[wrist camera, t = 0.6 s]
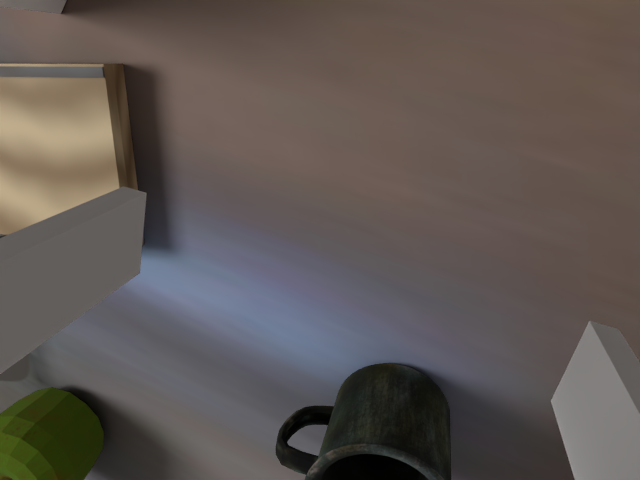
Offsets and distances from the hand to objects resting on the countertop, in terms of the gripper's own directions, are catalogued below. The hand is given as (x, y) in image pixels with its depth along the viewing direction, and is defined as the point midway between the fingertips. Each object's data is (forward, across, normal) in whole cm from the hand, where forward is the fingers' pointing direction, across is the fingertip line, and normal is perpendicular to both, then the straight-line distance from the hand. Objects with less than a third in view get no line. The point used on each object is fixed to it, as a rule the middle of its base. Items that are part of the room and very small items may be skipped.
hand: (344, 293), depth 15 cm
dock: (+27, -30, -9) cm, 42 cm away
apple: (+27, -28, -39) cm, 55 cm away
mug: (+27, +4, -24) cm, 37 cm away
